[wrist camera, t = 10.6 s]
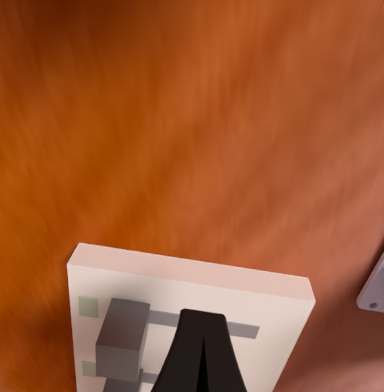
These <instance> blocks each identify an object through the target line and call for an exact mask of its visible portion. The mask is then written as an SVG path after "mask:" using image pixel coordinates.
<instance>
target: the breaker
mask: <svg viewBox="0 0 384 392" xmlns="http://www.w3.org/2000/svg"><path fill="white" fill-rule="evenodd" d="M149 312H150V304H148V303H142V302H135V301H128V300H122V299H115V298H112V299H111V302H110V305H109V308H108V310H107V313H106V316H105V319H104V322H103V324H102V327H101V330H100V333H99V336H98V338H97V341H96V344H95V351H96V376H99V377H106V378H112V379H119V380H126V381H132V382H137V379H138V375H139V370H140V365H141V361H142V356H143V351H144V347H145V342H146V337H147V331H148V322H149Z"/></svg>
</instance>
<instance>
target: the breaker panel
mask: <svg viewBox="0 0 384 392" xmlns="http://www.w3.org/2000/svg"><path fill="white" fill-rule="evenodd" d="M67 270H68V283H69V296H70V308H71V321H72V334H73V347H74V359H75V372H76V385H77V392H103V389H104V385H105V382H106V379H107V378H106V377H99V376H96V351H95V344H96V341H97V338H98V336H99V333H100V330H101V327H102V324H103V322H104V319H105V316H106V313H107V310H108V308H109V305H110V302H111V299H112V298H115V299H122V300H128V301H135V302H142V303H148V304H150V312H149V322H148V331H147V337H146V342H145V347H144V351H143V356H142V361H141V365H140V369H143V378H142V388H141V392H151V390H152V388H153V386H154V384H155V381H156V379H157V377H158V375H159V373H160V371H161V368H162V366H163V364H164V361H165V359H166V356H167V354H168V352H169V349H170V346H171V344H172V341H173V338H174V335H175V332H176V329H177V325H178V321H179V316H180V310H182V309H184V308H186V309H193V310H199V311H206V312H212V313H219V314H224V316H225V317H226V321H227V326H228V330H229V335H230V339H231V342H232V346H233V350H234V353H235V356H236V360H237V363H238V366H239V369H240V372H241V375H242V378H243V381H244V384H245V387H246V390H247V392H272V391H273V389H274V387H275V385H276V383H277V381H278V379H279V377H280V375H281V373H282V371H283V369H284V366H285V364H286V362H287V360H288V358H289V356H290V354H291V352H292V350H293V348H294V346H295V344H296V342H297V340H298V338H299V336H300V333H301V331H302V329H303V327H304V325H305V323H306V321H307V319H308V317H309V315H310V313H311V311H312V309H313V307H314V305H315V303H316V301H315V298H314V294H313V291H312V288H311V285H310V282H309V279H308V278H307V277H301V276H294V275H288V274H281V273H275V272H268V271H261V270H255V269H248V268H242V267H235V266H229V265H222V264H216V263H209V262H203V261H196V260H190V259H183V258H177V257H170V256H164V255H157V254H151V253H144V252H138V251H131V250H124V249H118V248H111V247H105V246H98V245H92V244H85V243H79V244H78V246H77V247H76V249H75V251H74V253H73V254H72V256H71V258H70V259H69V261H68V263H67Z"/></svg>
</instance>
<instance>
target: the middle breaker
mask: <svg viewBox="0 0 384 392" xmlns="http://www.w3.org/2000/svg"><path fill="white" fill-rule="evenodd" d="M142 378H143V369H140V370H139V375H138V379H137V382H132V381H126V380H119V379H112V378H107V379H106V382H105V385H104V389H103V392H141V388H142Z"/></svg>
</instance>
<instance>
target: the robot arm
mask: <svg viewBox="0 0 384 392" xmlns="http://www.w3.org/2000/svg"><path fill="white" fill-rule="evenodd" d="M356 303H357V305H358V307H359V308H360V309H365V310H371V311H378V312H384V252H383V254H382V256H381V257H380V259H379V261H378V263H377V264H376V266H375V268H374V270H373V271H372V273H371V275H370V277H369V278H368V280H367V282H366V283H365V285H364V287H363V289H362V290H361V292H360V294H359V296H358V297H357V299H356ZM151 392H247V390H246V387H245V384H244V381H243V378H242V375H241V372H240V369H239V366H238V363H237V360H236V356H235V353H234V350H233V346H232V342H231V339H230V335H229V330H228V326H227V321H226V317H225V316H224V314H219V313H212V312H206V311H199V310H193V309H186V308H184V309H182V310H180V316H179V321H178V325H177V329H176V332H175V335H174V338H173V341H172V344H171V346H170V349H169V352H168V354H167V356H166V359H165V361H164V364H163V366H162V368H161V371H160V373H159V375H158V377H157V379H156V381H155V384H154V386H153V388H152V390H151Z"/></svg>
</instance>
